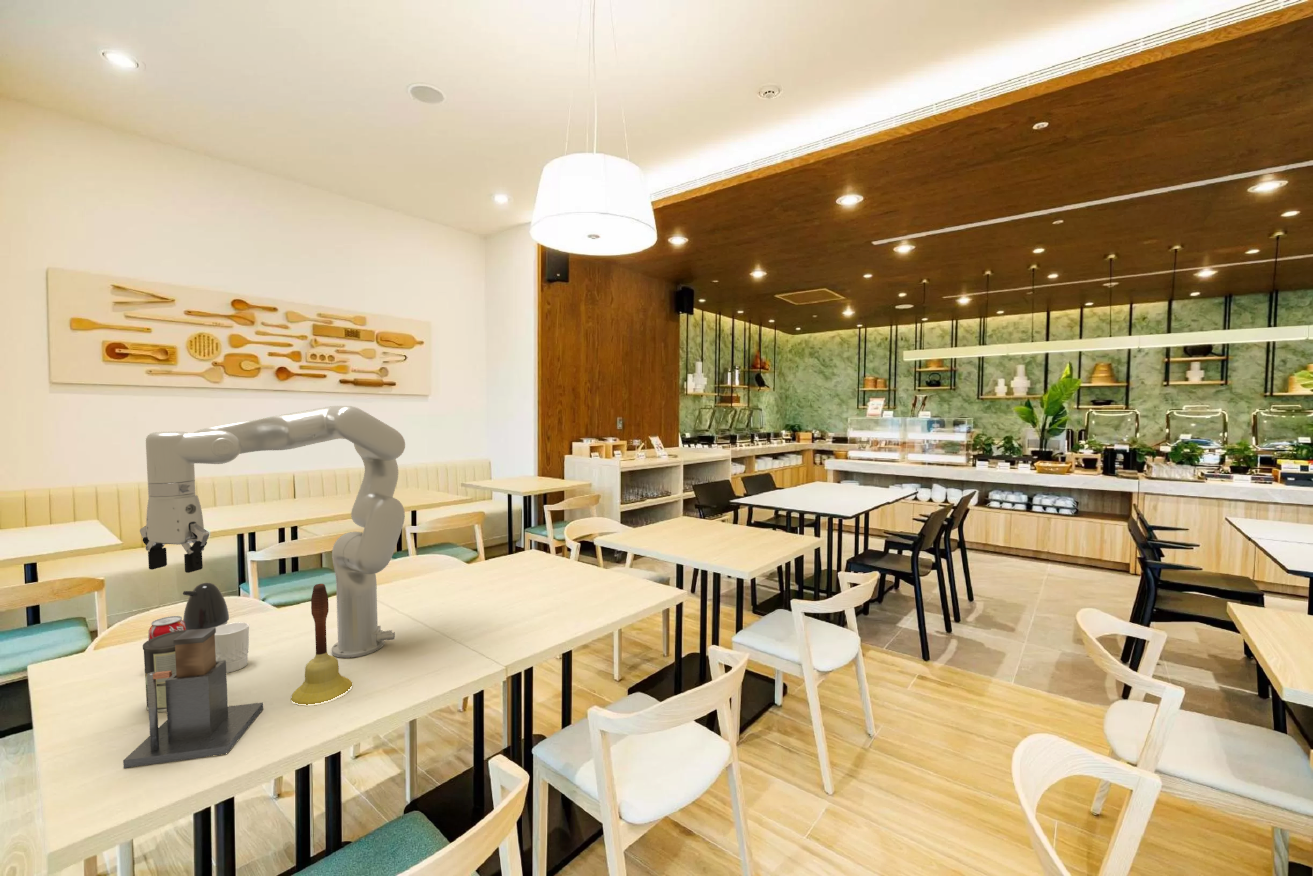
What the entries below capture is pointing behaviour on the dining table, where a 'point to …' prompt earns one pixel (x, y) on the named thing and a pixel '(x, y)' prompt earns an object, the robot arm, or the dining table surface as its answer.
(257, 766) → the dining table surface
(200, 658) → the walnut post
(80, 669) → the dining table surface
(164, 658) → the coffee can
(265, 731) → the dining table surface
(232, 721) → the steel stand
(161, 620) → the soda can
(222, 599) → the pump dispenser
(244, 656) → the white cup
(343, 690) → the handbell
